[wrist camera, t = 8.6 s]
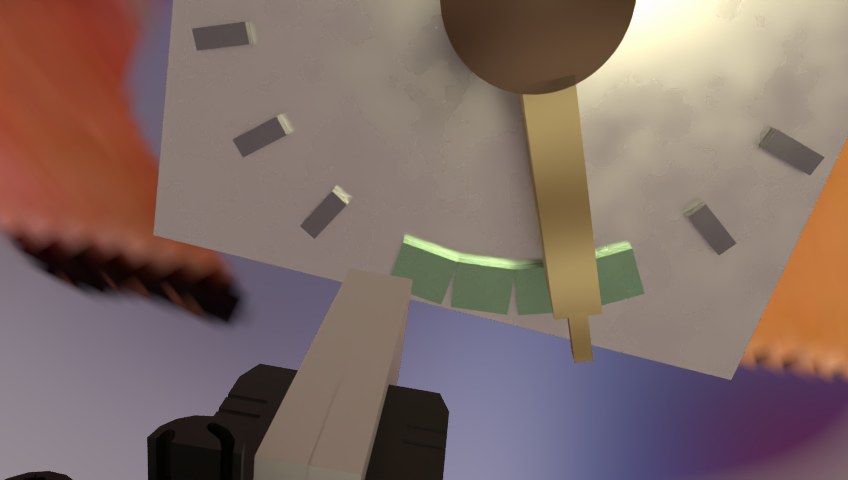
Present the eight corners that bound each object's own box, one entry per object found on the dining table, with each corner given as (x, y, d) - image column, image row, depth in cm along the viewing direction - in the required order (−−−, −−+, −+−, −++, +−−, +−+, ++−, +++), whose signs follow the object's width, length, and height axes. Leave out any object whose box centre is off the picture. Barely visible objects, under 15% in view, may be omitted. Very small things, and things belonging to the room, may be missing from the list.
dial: (431, -76, 26) (423, -89, 22) (606, -116, 25) (628, -136, 21) (501, 328, 32) (504, 371, 28) (644, 309, 31) (666, 351, 27)
